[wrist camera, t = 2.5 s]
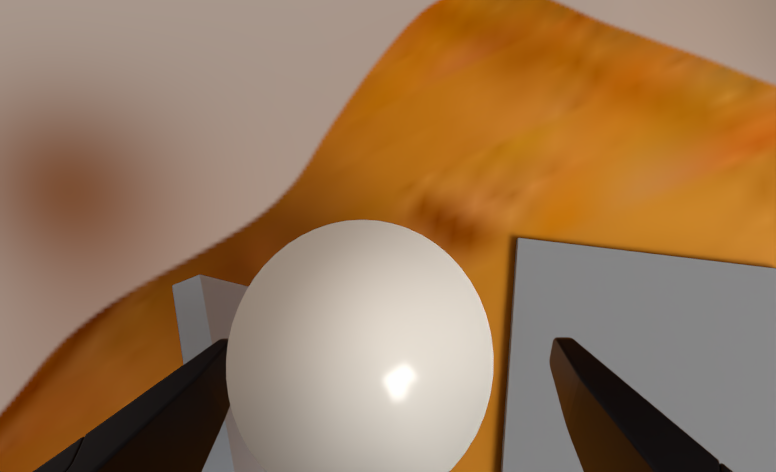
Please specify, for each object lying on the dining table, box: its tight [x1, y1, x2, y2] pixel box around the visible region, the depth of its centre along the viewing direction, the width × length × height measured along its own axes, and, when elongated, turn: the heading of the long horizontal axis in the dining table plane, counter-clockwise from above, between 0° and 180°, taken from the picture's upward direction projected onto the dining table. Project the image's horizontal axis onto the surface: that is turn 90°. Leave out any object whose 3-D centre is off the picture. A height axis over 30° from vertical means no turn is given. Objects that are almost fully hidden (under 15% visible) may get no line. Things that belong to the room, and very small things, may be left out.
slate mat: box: [501, 238, 776, 472], centre depth 15 cm, size 12×12×1 cm
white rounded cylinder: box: [226, 220, 493, 472], centre depth 11 cm, size 5×5×12 cm
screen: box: [172, 275, 267, 472], centre depth 14 cm, size 10×1×6 cm, turn 20°
